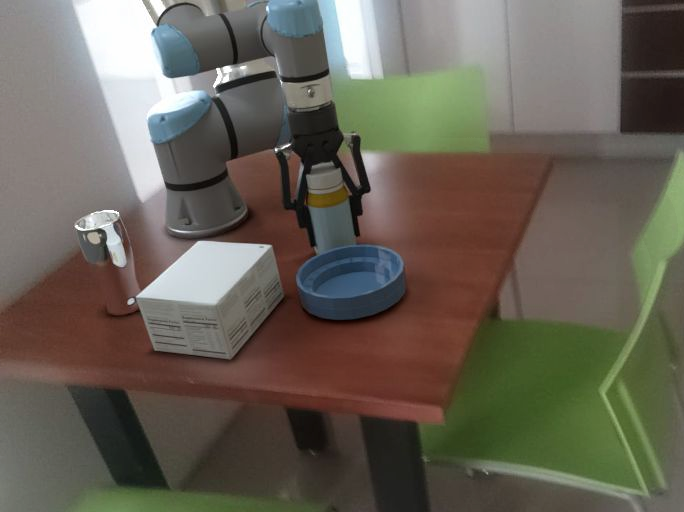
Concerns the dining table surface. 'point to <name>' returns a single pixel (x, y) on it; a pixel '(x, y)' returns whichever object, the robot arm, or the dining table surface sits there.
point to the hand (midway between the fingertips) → (334, 238)
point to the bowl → (351, 282)
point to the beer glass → (110, 259)
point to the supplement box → (211, 299)
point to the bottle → (329, 208)
